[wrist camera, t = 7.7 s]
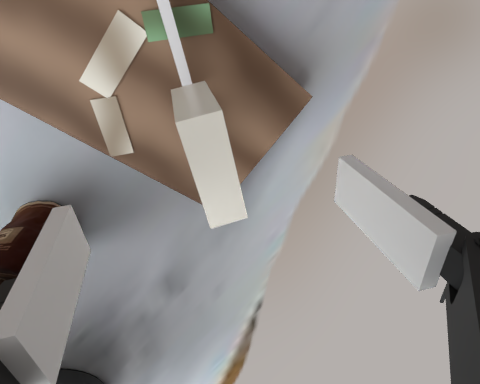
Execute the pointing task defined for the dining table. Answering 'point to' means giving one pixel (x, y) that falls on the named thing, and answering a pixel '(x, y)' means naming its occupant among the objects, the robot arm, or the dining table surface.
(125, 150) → the board
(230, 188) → the white piece
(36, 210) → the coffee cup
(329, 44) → the dining table surface
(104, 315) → the dining table surface
